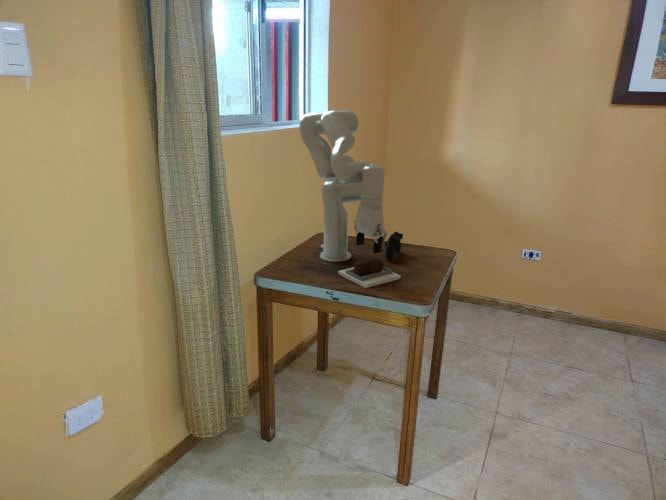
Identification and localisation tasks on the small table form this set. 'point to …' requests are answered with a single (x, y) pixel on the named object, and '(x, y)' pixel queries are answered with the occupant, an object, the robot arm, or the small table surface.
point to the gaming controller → (393, 245)
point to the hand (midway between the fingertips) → (368, 248)
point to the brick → (368, 266)
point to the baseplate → (370, 277)
